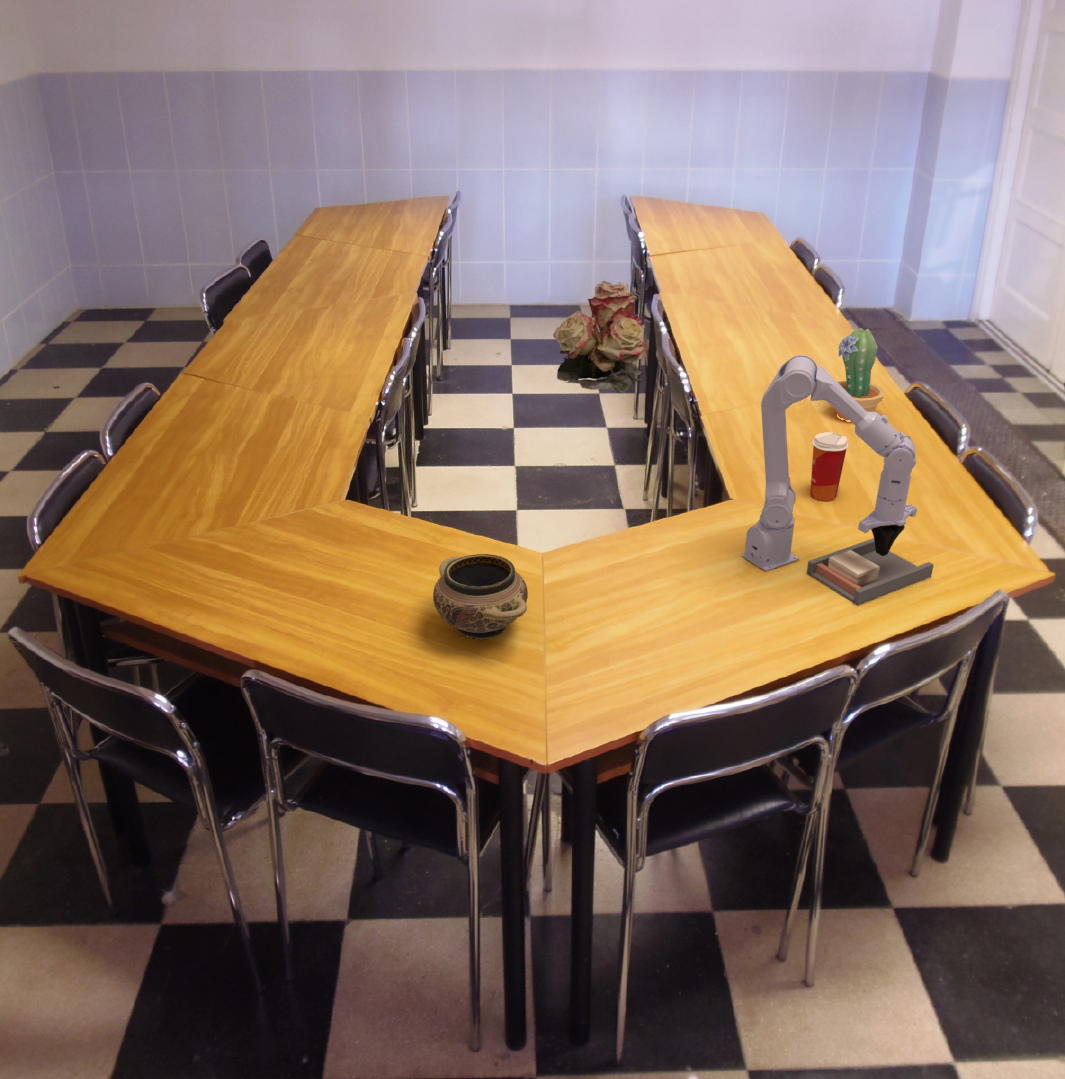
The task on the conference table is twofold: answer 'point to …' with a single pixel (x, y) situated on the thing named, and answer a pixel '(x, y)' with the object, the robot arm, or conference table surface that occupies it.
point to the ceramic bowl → (480, 594)
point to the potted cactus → (860, 369)
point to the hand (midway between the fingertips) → (881, 553)
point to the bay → (890, 576)
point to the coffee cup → (827, 465)
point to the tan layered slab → (854, 568)
